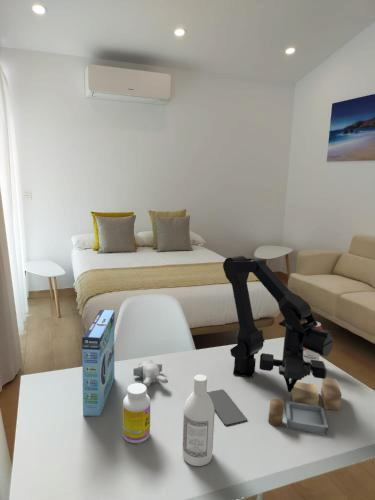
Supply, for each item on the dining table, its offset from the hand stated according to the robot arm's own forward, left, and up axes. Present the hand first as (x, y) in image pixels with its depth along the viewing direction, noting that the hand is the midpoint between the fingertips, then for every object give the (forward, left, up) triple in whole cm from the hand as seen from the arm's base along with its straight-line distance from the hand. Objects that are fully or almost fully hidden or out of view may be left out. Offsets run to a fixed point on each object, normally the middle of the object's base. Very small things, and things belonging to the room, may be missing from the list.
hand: (289, 391), depth 109 cm
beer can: (+8, +20, -2) cm, 22 cm away
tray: (+4, -11, -1) cm, 12 cm away
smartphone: (-18, -11, -2) cm, 21 cm away
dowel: (-4, -14, -1) cm, 15 cm away
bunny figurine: (-43, -3, -2) cm, 43 cm away
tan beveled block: (+5, 0, -2) cm, 5 cm away
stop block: (+12, 0, -1) cm, 12 cm away
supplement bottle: (-38, -28, -2) cm, 47 cm away
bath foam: (-22, -31, -2) cm, 38 cm away
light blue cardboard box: (-54, -15, -2) cm, 56 cm away
